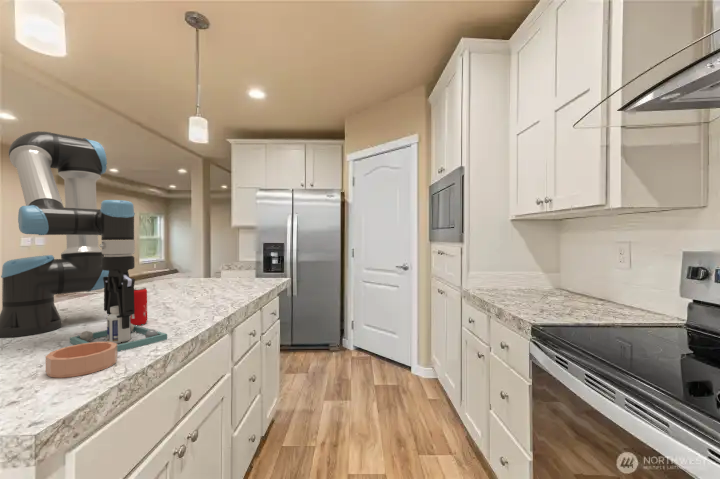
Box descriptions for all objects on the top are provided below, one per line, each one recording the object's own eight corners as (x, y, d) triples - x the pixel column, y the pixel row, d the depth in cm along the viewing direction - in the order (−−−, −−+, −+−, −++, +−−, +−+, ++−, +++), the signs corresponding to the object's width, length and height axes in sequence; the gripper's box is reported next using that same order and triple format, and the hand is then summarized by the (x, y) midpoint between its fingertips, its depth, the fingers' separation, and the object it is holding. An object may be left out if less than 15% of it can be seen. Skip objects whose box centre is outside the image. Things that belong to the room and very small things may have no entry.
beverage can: (130, 323, 115) (130, 288, 115) (148, 321, 117) (148, 287, 117) (127, 326, 110) (127, 290, 110) (146, 325, 112) (145, 289, 112)
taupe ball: (77, 342, 94) (77, 331, 94) (90, 339, 96) (90, 329, 96) (82, 344, 92) (81, 333, 92) (95, 341, 94) (95, 330, 94)
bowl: (38, 370, 74) (38, 352, 74) (103, 354, 84) (103, 338, 84) (58, 382, 67) (58, 363, 67) (126, 363, 77) (125, 347, 77)
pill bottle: (135, 338, 97) (135, 304, 97) (120, 344, 92) (120, 308, 92) (118, 338, 98) (117, 304, 97) (102, 343, 92) (101, 308, 92)
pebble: (120, 333, 102) (120, 323, 102) (131, 331, 105) (131, 321, 105) (124, 334, 101) (124, 324, 101) (136, 332, 103) (135, 322, 103)
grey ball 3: (143, 340, 95) (143, 330, 95) (154, 338, 97) (154, 327, 97) (148, 342, 93) (148, 331, 93) (159, 339, 96) (159, 329, 96)
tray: (69, 342, 93) (69, 337, 93) (133, 329, 107) (133, 324, 107) (100, 356, 82) (100, 349, 82) (167, 339, 96) (167, 334, 96)
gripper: (88, 255, 96) (89, 336, 96) (117, 257, 86) (118, 347, 86) (118, 254, 103) (119, 330, 103) (149, 255, 93) (149, 340, 93)
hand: (119, 338), depth 95 cm, fingers closed on pill bottle, 5 cm apart
